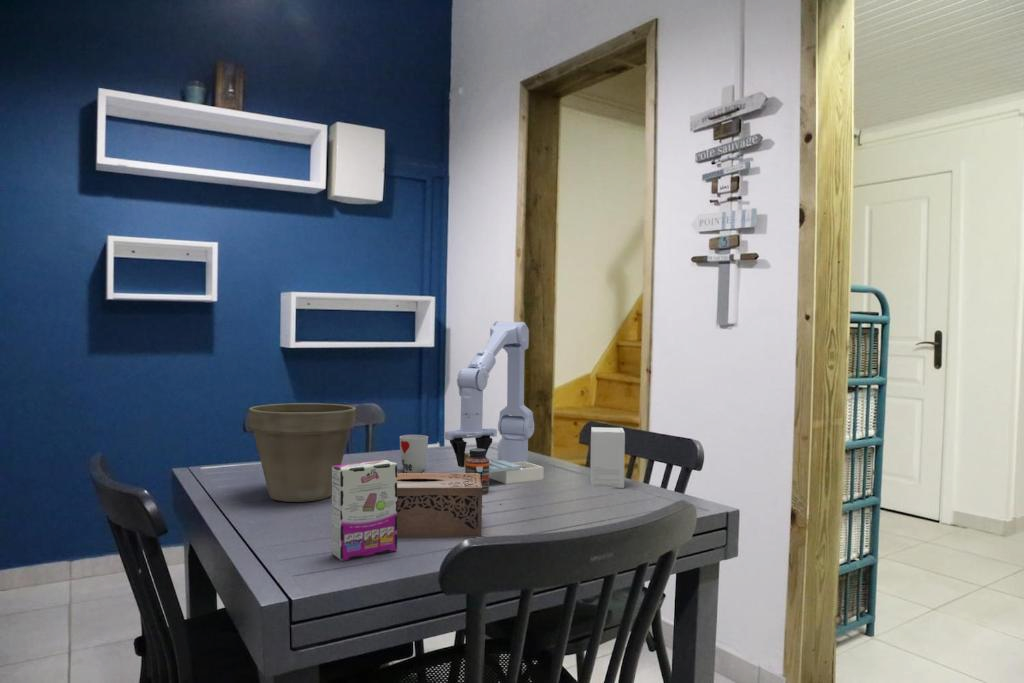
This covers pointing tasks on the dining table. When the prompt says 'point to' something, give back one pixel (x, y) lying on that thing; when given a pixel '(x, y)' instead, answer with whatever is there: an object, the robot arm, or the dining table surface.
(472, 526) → the tissue box cover
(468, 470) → the supplement bottle
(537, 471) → the tub
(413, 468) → the cup
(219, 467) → the dining table surface
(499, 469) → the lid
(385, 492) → the candy bar box
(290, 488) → the plant pot
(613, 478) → the supplement box
